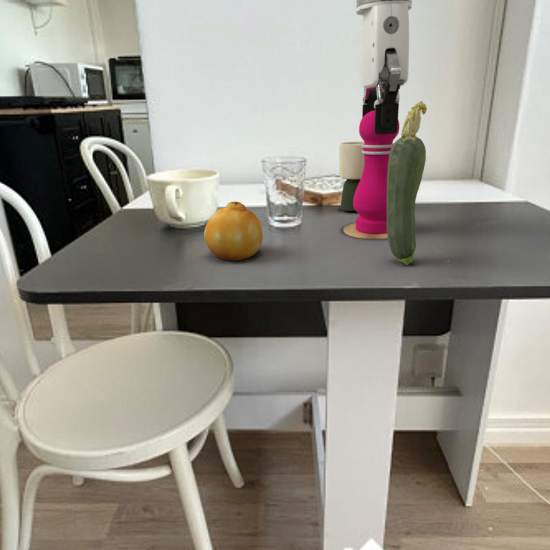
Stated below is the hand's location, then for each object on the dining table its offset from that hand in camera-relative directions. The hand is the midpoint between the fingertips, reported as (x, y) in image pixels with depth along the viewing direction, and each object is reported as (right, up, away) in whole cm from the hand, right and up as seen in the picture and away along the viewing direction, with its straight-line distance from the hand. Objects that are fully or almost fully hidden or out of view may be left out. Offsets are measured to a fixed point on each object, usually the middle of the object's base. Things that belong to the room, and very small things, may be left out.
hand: (378, 131), depth 67 cm
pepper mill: (+1, -14, +6) cm, 16 cm away
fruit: (-22, -19, -3) cm, 29 cm away
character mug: (0, -9, +20) cm, 22 cm away
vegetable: (+1, -20, -8) cm, 22 cm away
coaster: (+1, -15, +6) cm, 16 cm away
